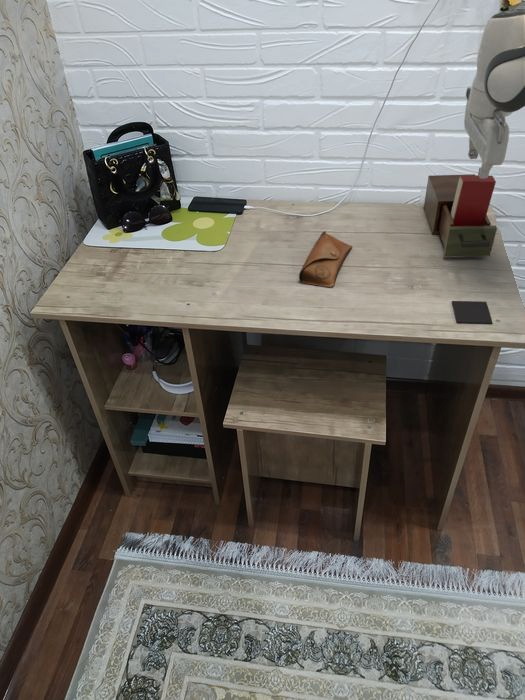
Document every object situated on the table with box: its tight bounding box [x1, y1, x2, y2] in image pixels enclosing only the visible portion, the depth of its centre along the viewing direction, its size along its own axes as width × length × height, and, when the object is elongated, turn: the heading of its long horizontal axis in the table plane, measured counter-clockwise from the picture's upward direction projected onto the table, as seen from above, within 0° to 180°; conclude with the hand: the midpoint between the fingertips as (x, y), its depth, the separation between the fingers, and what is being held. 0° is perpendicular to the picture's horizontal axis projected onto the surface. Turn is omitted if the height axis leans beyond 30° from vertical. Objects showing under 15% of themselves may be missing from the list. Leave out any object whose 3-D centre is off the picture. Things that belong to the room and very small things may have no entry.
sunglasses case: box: [298, 231, 353, 288], centre depth 133 cm, size 18×7×7 cm
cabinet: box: [423, 174, 476, 236], centre depth 143 cm, size 14×12×9 cm
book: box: [450, 174, 497, 226], centre depth 130 cm, size 7×3×15 cm, turn 87°
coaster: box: [451, 300, 493, 325], centre depth 118 cm, size 7×7×1 cm
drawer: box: [438, 204, 498, 258], centre depth 133 cm, size 17×10×7 cm, turn 177°
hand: (477, 167), depth 124 cm, fingers open, 8 cm apart
